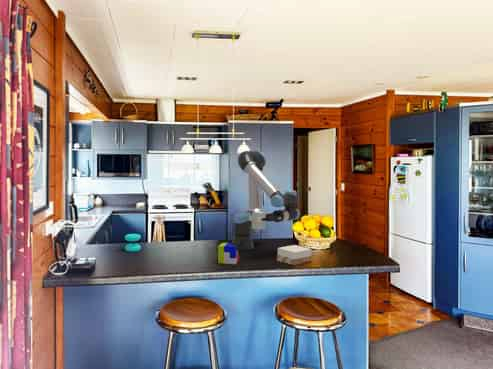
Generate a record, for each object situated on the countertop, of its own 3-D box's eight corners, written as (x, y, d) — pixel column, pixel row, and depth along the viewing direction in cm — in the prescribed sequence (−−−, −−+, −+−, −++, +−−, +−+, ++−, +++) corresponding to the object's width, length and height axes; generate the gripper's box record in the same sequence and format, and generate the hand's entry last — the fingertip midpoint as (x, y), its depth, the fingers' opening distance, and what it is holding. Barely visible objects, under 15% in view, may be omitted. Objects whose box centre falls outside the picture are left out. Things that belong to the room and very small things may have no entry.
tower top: (277, 254, 243) (277, 247, 242) (294, 251, 251) (294, 245, 251) (294, 259, 232) (294, 252, 232) (311, 255, 241) (311, 249, 240)
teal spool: (124, 233, 268) (139, 233, 272) (124, 249, 269) (139, 248, 273) (125, 236, 259) (141, 235, 263) (125, 252, 260) (141, 251, 263)
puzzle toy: (235, 264, 234) (235, 247, 233) (218, 263, 236) (218, 246, 235) (239, 260, 243) (239, 243, 243) (222, 259, 245) (222, 242, 245)
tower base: (276, 261, 242) (277, 254, 242) (292, 257, 252) (292, 251, 251) (294, 266, 232) (294, 259, 232) (310, 262, 241) (310, 255, 241)
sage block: (251, 228, 249) (252, 211, 248) (258, 227, 253) (259, 211, 252) (258, 229, 244) (258, 213, 244) (265, 228, 248) (266, 212, 248)
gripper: (291, 223, 254) (264, 227, 238) (269, 219, 268) (242, 223, 252) (291, 211, 253) (264, 214, 238) (269, 208, 267) (242, 211, 252)
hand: (253, 219), depth 245 cm, fingers closed on sage block, 6 cm apart
